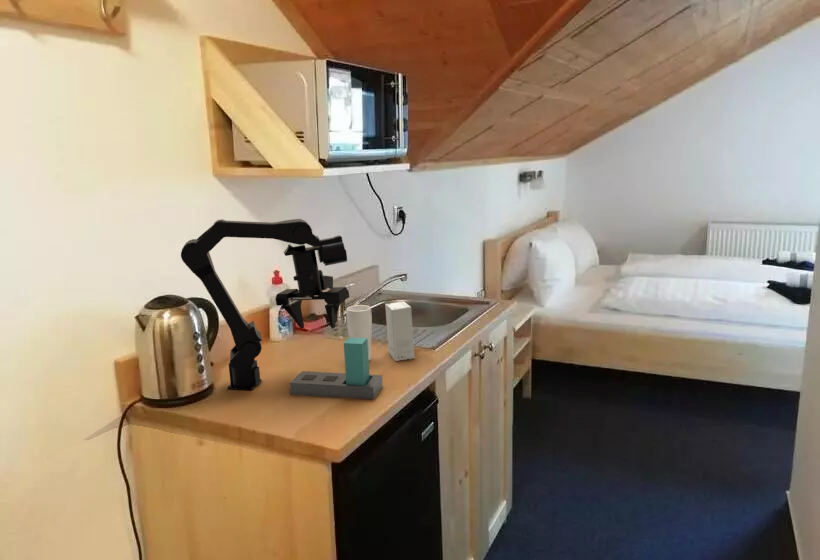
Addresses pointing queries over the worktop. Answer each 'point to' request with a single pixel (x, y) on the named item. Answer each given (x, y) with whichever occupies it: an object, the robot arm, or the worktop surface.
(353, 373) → the teal peg
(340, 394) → the grey peg board
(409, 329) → the skincare box
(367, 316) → the drinking glass
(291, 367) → the worktop surface
